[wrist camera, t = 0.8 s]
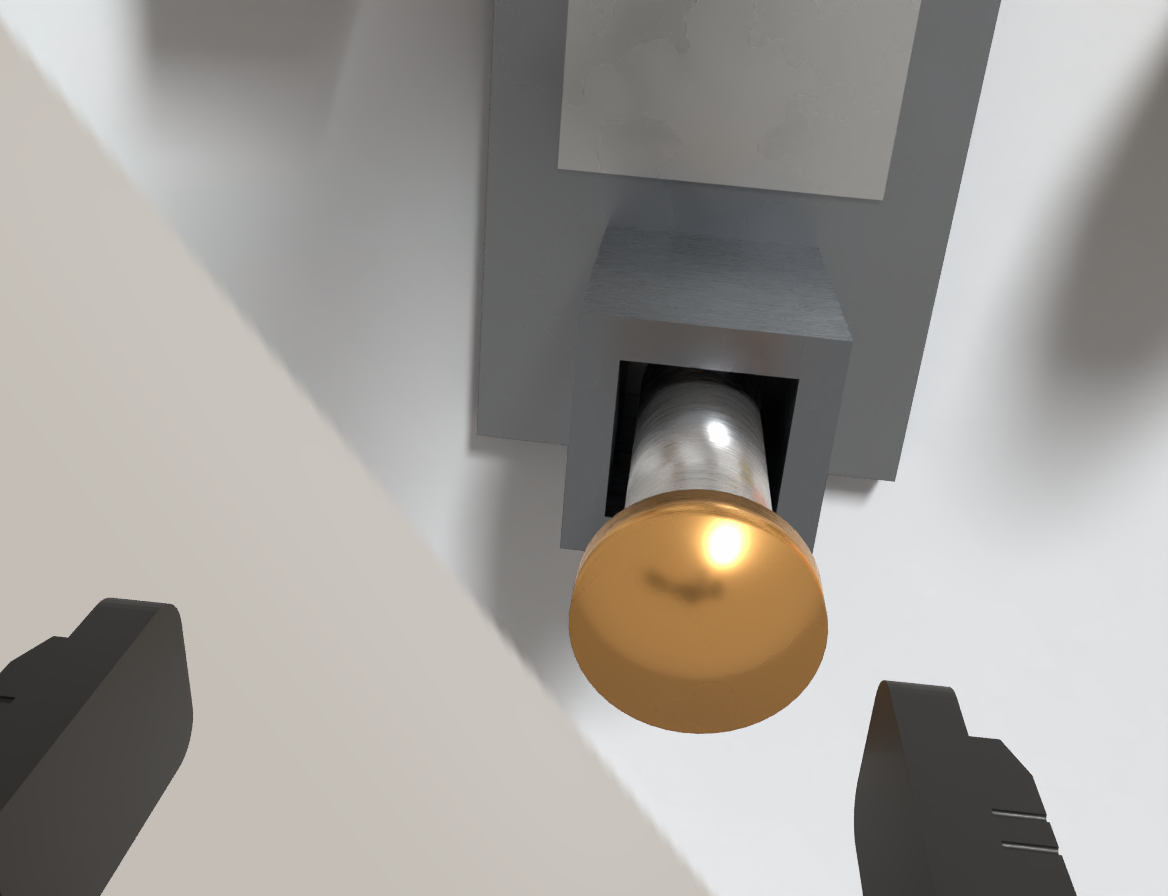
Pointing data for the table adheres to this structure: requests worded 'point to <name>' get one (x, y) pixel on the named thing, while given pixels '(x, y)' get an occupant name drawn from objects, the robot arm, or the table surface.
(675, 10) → the grey assembly fixture
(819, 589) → the plunger
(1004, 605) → the table surface
